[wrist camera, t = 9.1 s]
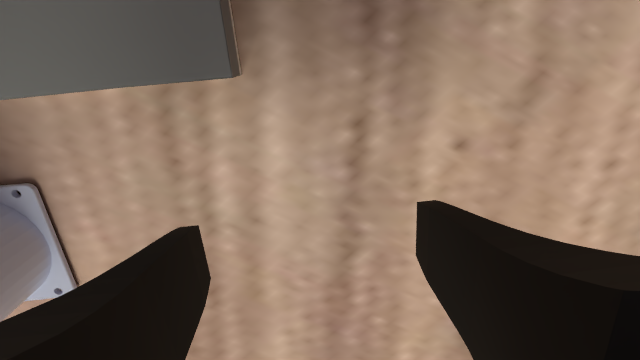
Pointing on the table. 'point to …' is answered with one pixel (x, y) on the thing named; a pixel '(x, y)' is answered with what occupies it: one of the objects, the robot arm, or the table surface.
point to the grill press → (107, 44)
